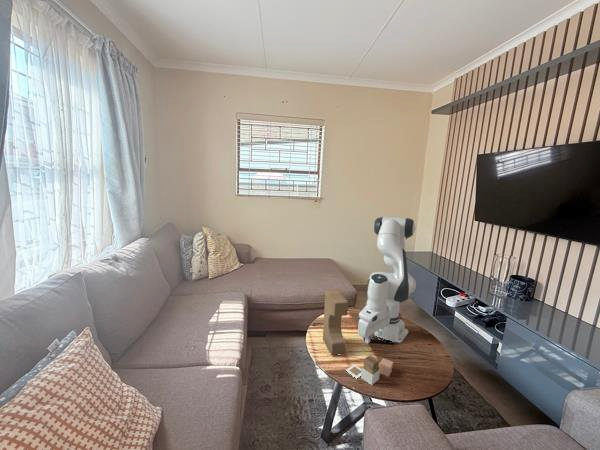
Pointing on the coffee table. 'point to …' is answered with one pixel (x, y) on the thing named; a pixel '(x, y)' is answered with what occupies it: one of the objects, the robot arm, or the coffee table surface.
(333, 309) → the decorative block
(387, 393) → the coffee table surface
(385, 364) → the terracotta cube
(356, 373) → the card
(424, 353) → the coffee table surface
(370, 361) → the walnut cube
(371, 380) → the base block
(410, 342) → the coffee table surface
